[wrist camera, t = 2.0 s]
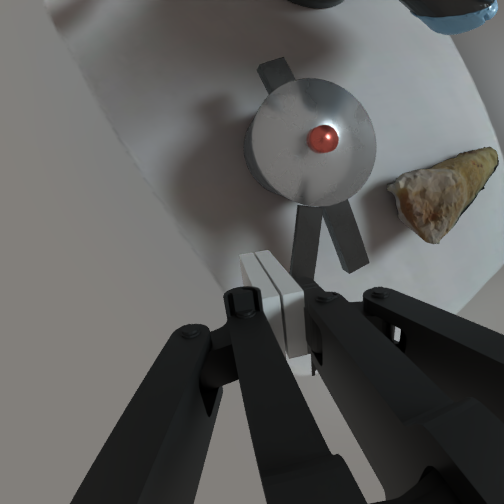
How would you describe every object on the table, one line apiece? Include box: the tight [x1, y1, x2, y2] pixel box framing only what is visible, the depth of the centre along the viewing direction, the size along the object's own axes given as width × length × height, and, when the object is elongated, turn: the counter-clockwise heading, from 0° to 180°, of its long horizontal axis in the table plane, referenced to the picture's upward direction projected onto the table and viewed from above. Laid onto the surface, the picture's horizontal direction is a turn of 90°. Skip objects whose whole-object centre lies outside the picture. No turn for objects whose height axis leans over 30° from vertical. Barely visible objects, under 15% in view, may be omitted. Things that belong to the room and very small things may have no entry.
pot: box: [244, 57, 369, 274], centre depth 36 cm, size 26×13×9 cm, turn 25°
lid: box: [251, 78, 376, 354], centre depth 29 cm, size 27×14×8 cm, turn 175°
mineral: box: [387, 147, 499, 244], centre depth 40 cm, size 26×9×10 cm
